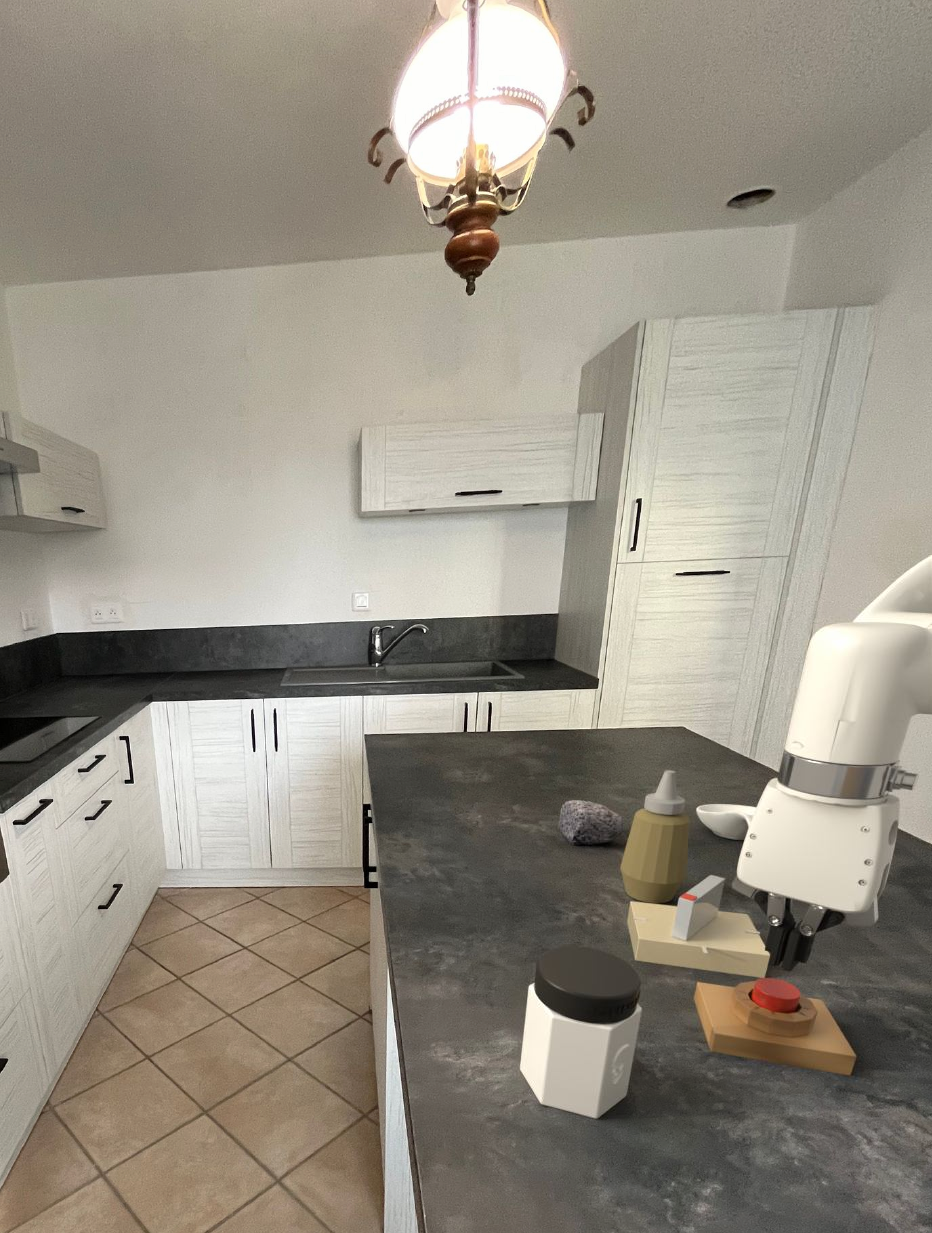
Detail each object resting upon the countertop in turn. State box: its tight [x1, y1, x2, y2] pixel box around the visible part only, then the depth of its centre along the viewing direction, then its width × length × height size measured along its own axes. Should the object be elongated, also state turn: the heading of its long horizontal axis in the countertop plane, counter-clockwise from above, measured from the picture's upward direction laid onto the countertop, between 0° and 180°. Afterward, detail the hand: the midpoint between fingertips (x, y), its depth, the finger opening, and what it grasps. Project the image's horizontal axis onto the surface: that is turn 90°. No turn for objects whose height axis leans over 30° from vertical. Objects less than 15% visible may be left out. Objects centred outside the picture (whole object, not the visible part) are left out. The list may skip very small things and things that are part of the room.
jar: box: [519, 945, 643, 1120], centre depth 60 cm, size 9×8×12 cm
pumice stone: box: [557, 799, 625, 846], centre depth 113 cm, size 10×8×10 cm
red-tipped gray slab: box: [672, 874, 726, 941], centre depth 80 cm, size 9×2×5 cm, turn 129°
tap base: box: [626, 900, 771, 979], centre depth 82 cm, size 13×13×3 cm
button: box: [751, 977, 802, 1014], centre depth 65 cm, size 4×4×2 cm
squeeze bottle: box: [619, 769, 691, 904], centre depth 92 cm, size 8×8×18 cm
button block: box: [693, 980, 857, 1076], centre depth 66 cm, size 11×9×4 cm
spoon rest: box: [695, 803, 757, 841], centre depth 109 cm, size 24×12×7 cm, turn 160°
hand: (784, 962), depth 64 cm, fingers closed
